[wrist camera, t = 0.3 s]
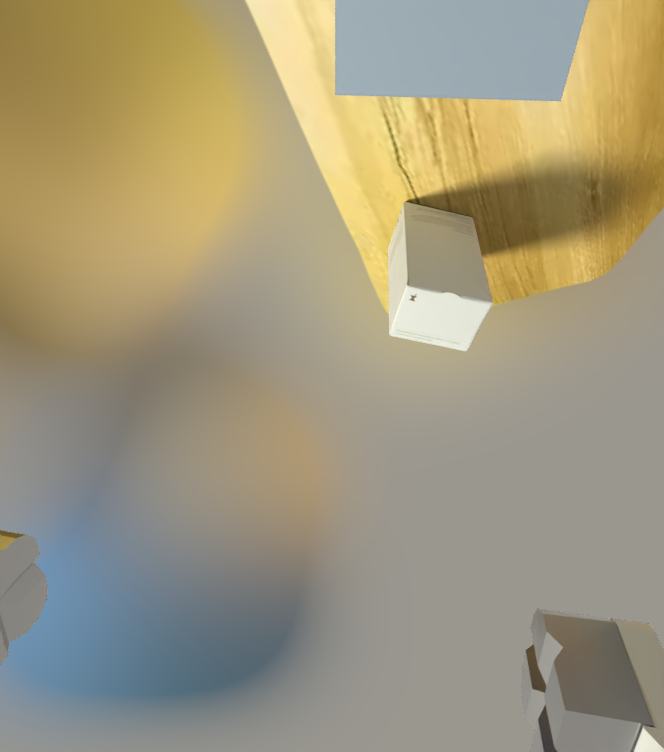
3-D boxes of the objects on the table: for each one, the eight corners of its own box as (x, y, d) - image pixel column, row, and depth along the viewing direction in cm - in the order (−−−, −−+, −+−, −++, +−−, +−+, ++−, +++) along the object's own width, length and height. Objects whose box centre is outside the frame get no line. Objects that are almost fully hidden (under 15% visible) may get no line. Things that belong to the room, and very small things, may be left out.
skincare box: (387, 247, 63) (383, 337, 52) (404, 196, 58) (404, 283, 47) (455, 264, 64) (466, 356, 53) (478, 214, 59) (495, 304, 48)
